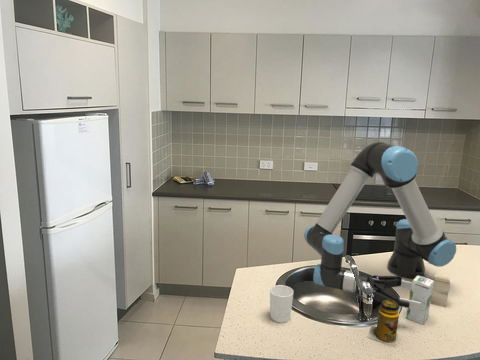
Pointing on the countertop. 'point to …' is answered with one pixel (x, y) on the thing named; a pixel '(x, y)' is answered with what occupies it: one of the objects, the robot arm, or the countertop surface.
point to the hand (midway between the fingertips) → (420, 296)
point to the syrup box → (420, 298)
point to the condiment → (386, 323)
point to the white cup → (280, 303)
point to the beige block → (440, 290)
